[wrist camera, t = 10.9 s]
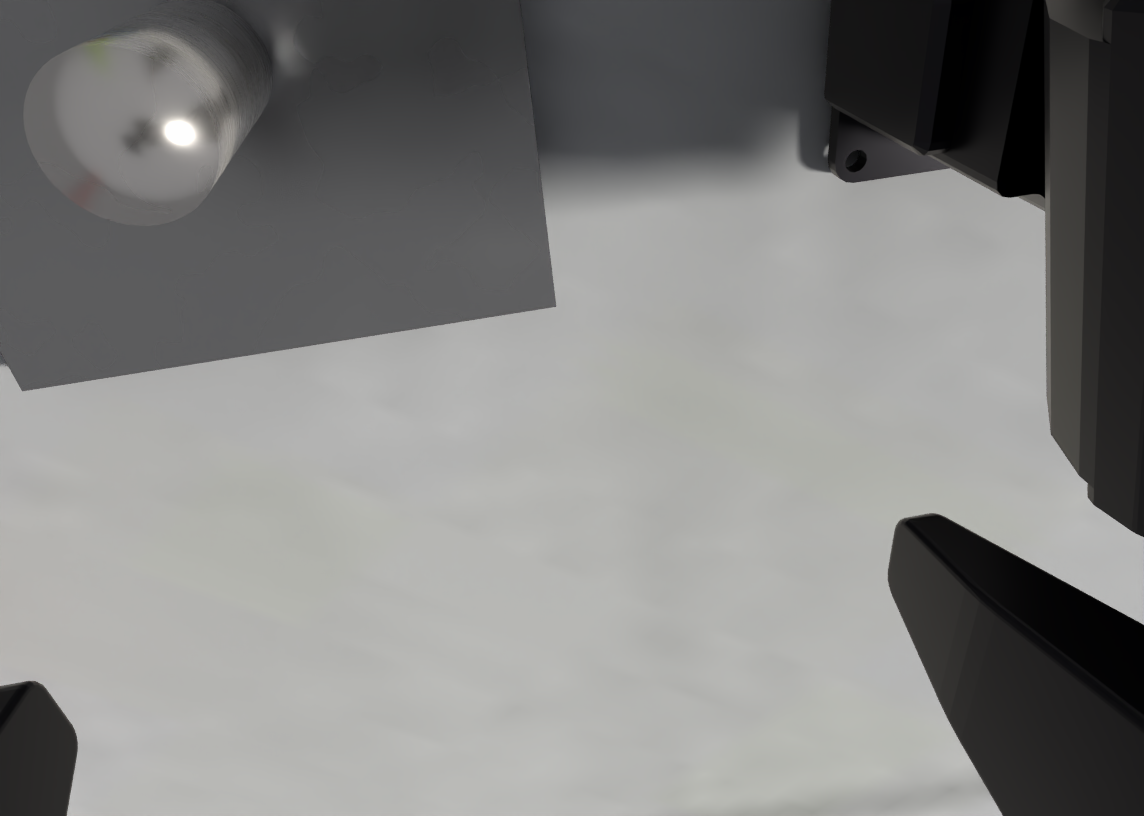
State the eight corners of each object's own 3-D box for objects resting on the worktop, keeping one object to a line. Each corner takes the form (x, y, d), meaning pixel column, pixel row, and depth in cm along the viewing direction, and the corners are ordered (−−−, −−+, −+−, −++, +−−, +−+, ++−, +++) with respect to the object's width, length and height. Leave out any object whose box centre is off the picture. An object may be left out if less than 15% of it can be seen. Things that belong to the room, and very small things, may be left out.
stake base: (467, -388, 13) (498, -548, 8) (550, 288, 20) (594, 426, 15) (-329, -316, 12) (-842, -446, 7) (39, 368, 19) (-96, 543, 14)
